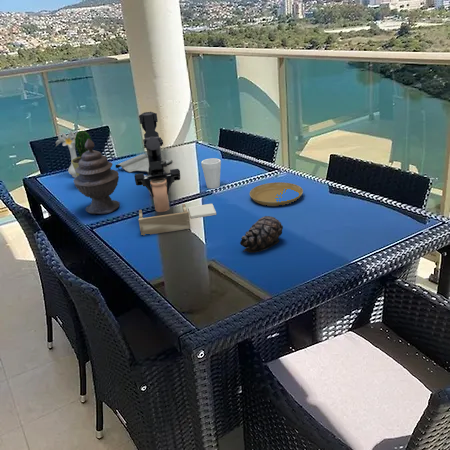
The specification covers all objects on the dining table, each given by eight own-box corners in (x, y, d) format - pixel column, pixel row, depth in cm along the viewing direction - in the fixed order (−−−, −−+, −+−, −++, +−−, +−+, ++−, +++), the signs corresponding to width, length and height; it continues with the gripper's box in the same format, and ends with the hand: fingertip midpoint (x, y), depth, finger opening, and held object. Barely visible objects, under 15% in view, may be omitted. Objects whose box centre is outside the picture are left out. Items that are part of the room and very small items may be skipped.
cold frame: (140, 218, 209) (137, 203, 206) (185, 212, 212) (184, 197, 209) (141, 235, 193) (138, 219, 190) (190, 228, 195) (188, 212, 192)
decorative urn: (109, 196, 236) (95, 128, 219) (133, 207, 223) (120, 136, 206) (73, 211, 224) (55, 140, 207) (95, 224, 211) (79, 150, 194)
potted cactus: (71, 189, 251) (58, 133, 239) (89, 180, 264) (77, 125, 252) (95, 191, 246) (83, 134, 233) (112, 181, 258) (102, 126, 246)
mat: (148, 176, 264) (147, 167, 262) (116, 172, 275) (114, 164, 273) (173, 163, 281) (172, 155, 280) (142, 160, 293) (140, 153, 291)
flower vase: (98, 172, 275) (90, 129, 265) (69, 182, 263) (59, 137, 253) (86, 169, 283) (78, 127, 273) (58, 178, 272) (48, 134, 262)
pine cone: (236, 251, 174) (234, 226, 170) (265, 233, 186) (264, 209, 182) (260, 259, 168) (258, 233, 163) (288, 239, 180) (287, 214, 176)
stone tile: (188, 209, 214) (188, 206, 214) (212, 205, 216) (212, 203, 215) (191, 218, 205) (190, 216, 204) (216, 214, 206) (216, 212, 206)
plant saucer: (267, 213, 204) (267, 205, 203) (240, 196, 224) (239, 190, 222) (313, 199, 213) (313, 192, 212) (283, 185, 233) (283, 178, 232)
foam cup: (220, 189, 234) (218, 164, 228) (201, 189, 236) (199, 164, 230) (224, 183, 242) (222, 158, 237) (206, 183, 244) (204, 158, 239)
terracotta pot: (151, 210, 201) (146, 182, 195) (160, 205, 206) (156, 177, 200) (164, 213, 197) (159, 184, 192) (173, 207, 202) (169, 178, 197)
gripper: (131, 155, 194) (135, 190, 189) (176, 149, 196) (182, 183, 191) (134, 168, 204) (138, 201, 199) (177, 162, 207) (183, 195, 202)
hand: (160, 195), depth 197 cm, fingers closed on terracotta pot, 6 cm apart
